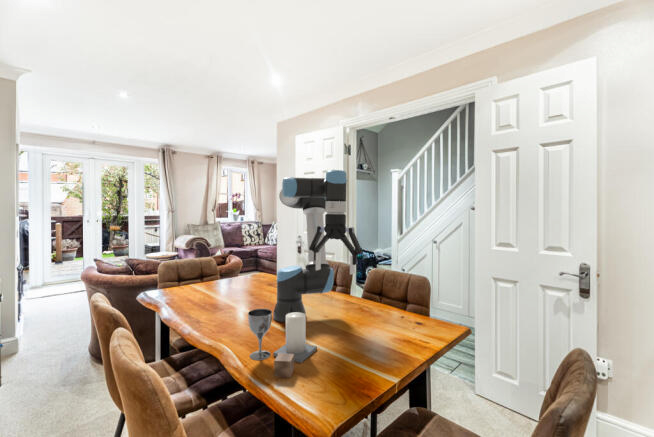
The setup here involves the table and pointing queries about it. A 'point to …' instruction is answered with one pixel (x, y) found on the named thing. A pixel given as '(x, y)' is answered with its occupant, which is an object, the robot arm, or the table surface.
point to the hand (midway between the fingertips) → (334, 271)
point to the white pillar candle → (295, 332)
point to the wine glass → (260, 329)
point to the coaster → (300, 356)
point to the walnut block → (284, 365)
